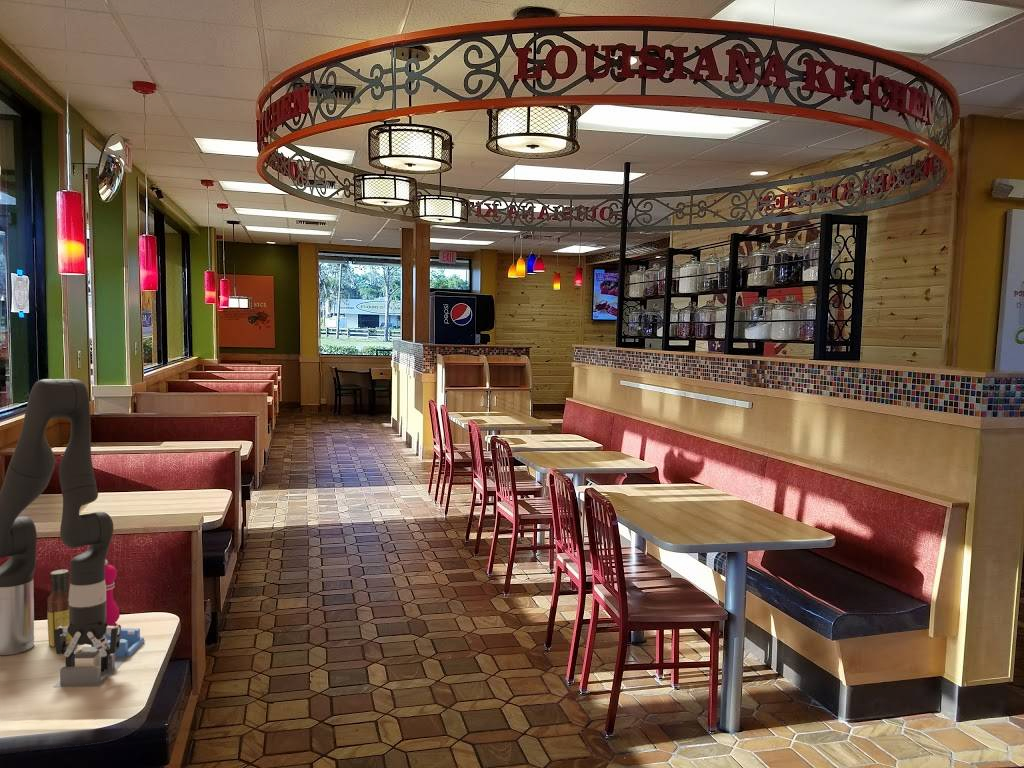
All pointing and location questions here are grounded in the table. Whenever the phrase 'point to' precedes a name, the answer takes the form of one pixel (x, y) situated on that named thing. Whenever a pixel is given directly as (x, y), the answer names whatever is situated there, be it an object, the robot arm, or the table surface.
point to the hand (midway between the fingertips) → (88, 670)
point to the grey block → (88, 657)
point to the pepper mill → (110, 595)
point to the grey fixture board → (92, 675)
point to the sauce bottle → (58, 605)
